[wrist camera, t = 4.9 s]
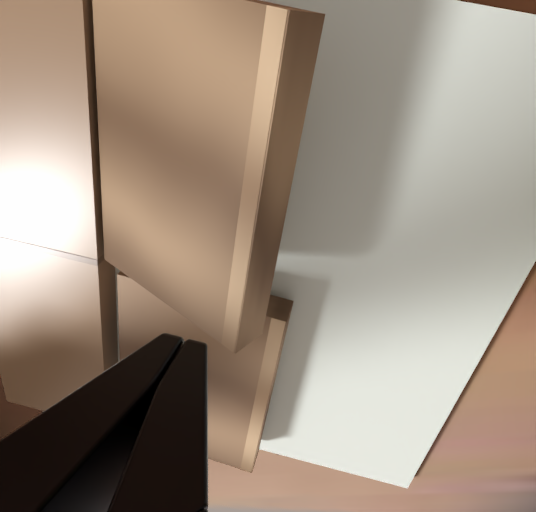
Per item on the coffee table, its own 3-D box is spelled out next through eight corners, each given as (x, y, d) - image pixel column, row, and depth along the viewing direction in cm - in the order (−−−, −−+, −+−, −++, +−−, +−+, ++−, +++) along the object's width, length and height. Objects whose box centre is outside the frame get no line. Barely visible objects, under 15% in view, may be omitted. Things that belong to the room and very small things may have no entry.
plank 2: (259, 448, 25) (251, 473, 23) (135, 409, 26) (121, 430, 24) (293, 300, 19) (286, 322, 18) (134, 257, 20) (116, 274, 19)
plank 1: (262, 333, 16) (234, 354, 15) (133, 248, 20) (104, 259, 19) (325, 14, 11) (289, 9, 10) (132, -27, 14) (90, -33, 13)
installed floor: (406, 478, 25) (409, 515, 23) (31, 379, 27) (7, 407, 25) (650, 35, 13) (695, 41, 11) (-55, -92, 15) (-112, -104, 13)
